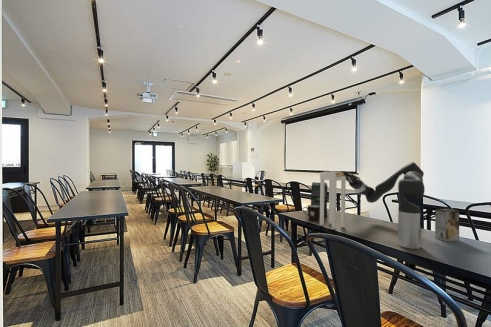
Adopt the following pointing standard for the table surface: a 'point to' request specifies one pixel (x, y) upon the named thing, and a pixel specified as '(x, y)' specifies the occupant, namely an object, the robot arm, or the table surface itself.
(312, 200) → the headset box
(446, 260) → the table surface
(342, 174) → the oak paddle
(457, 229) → the coffee box
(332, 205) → the white stand
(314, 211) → the coffee mug
